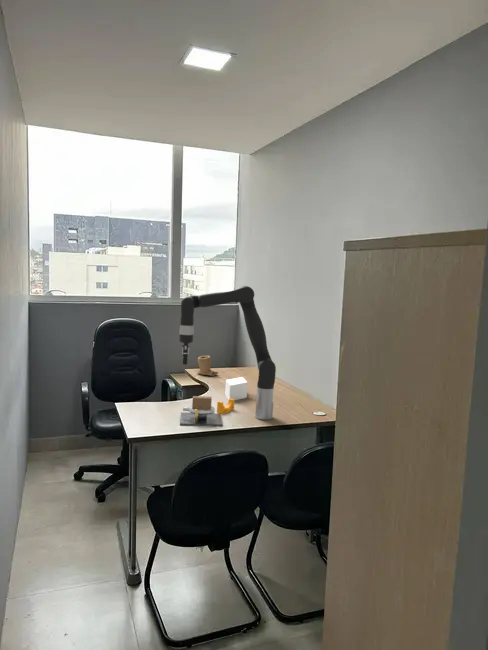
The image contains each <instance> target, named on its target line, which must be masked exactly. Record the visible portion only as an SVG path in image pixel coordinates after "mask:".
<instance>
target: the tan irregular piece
mask: <svg viewBox="0 0 488 650" xmlns="http://www.w3.org/2000/svg"><path fill="white" fill-rule="evenodd" d="M197 364H198V367H199V371H197V372H196V373H197V374H198V375H204V376H209V377H210V376H211V377H214V376H217V375H218V374H219V372H218V371H215V370H212V369H211V365H212V358H211V356H210V355H200V356H199V357H197Z"/></svg>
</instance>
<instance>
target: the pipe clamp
mask: <svg viewBox="0 0 488 650" xmlns="http://www.w3.org/2000/svg"><path fill="white" fill-rule="evenodd" d="M235 401H236V400H235V399H232V398H231V399H229V400H228V402H227V403H226V405H225V406H224V401H220V400H219V401H217V405H216V413H220V414H221V415H225V414H228V413H230V412H231V411H234V410H235Z"/></svg>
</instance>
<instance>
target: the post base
mask: <svg viewBox="0 0 488 650" xmlns="http://www.w3.org/2000/svg"><path fill="white" fill-rule="evenodd" d="M179 418H180V419H179V426H193V427H194V426H195V427H196V426H197V427H223V424H224V423H223V420H222V419H223V418H222V414H220V413H217V412H216V413H215V412H214V413H212V414H207V415H198V423H195V414H193V413H190V412H187V411H183V412H182V411H181V412H180V417H179Z"/></svg>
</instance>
